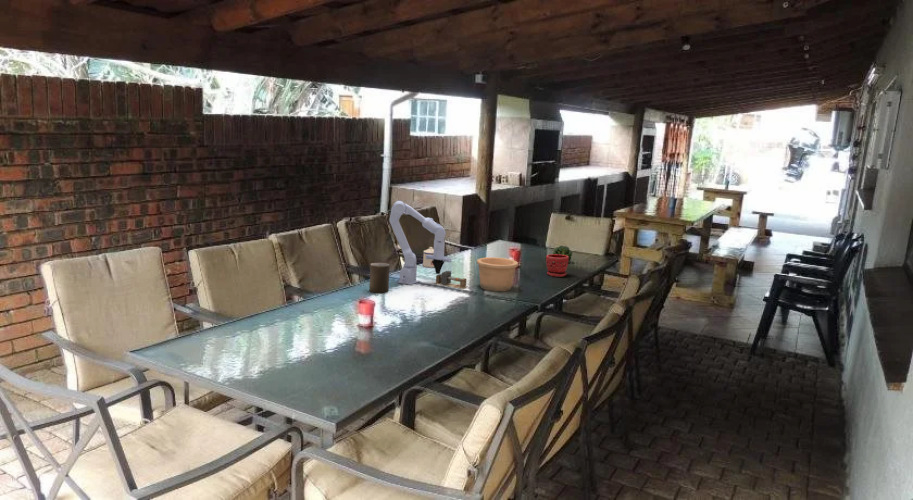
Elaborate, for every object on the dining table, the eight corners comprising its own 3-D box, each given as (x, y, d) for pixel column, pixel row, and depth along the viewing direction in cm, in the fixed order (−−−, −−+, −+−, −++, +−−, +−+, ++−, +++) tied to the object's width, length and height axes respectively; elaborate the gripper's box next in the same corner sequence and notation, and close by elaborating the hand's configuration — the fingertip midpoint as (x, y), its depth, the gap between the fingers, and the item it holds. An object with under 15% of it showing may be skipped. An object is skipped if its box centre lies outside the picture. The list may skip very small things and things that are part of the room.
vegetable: (550, 261, 420) (548, 247, 432) (561, 274, 426) (559, 260, 438) (566, 252, 415) (564, 238, 427) (577, 265, 421) (575, 251, 433)
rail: (467, 286, 349) (468, 278, 348) (462, 289, 344) (462, 280, 343) (439, 282, 357) (440, 273, 356) (434, 284, 351) (434, 275, 351)
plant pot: (566, 273, 396) (567, 254, 394) (567, 278, 383) (569, 258, 381) (544, 272, 397) (546, 252, 395) (545, 276, 384) (546, 256, 382)
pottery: (468, 288, 347) (470, 261, 344) (486, 280, 366) (487, 255, 363) (506, 294, 337) (507, 267, 334) (522, 286, 356) (524, 261, 354)
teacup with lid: (432, 268, 390) (433, 249, 388) (419, 266, 394) (420, 247, 392) (442, 265, 401) (443, 246, 398) (430, 263, 405) (431, 244, 403)
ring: (450, 282, 354) (451, 271, 353) (445, 284, 348) (445, 273, 347) (446, 281, 355) (447, 270, 354) (441, 284, 349) (441, 272, 348)
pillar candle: (385, 294, 325) (386, 264, 322) (366, 292, 327) (367, 262, 324) (391, 289, 334) (392, 261, 332) (372, 287, 336) (374, 259, 334)
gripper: (454, 249, 351) (453, 274, 353) (430, 246, 357) (429, 270, 360) (448, 251, 345) (446, 276, 347) (424, 247, 351) (423, 272, 354)
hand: (437, 273), depth 353 cm, fingers closed
